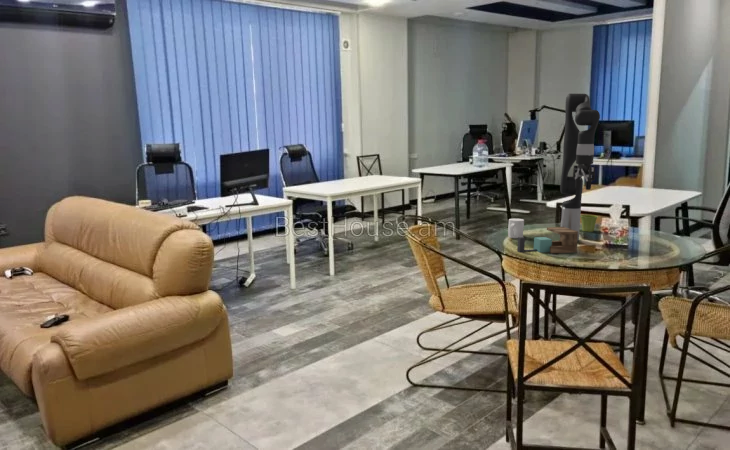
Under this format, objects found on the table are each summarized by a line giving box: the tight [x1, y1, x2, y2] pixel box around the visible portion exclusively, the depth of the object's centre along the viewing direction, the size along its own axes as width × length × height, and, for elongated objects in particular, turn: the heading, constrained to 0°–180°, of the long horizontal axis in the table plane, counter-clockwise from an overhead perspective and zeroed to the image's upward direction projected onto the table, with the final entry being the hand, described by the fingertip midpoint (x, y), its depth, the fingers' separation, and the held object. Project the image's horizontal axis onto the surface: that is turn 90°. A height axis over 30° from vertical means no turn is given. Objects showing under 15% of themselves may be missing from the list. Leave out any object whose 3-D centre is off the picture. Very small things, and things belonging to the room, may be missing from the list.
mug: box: [507, 218, 525, 239], centre depth 301 cm, size 12×9×8 cm
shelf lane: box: [546, 226, 578, 254], centre depth 269 cm, size 13×13×10 cm
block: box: [516, 236, 553, 253], centre depth 267 cm, size 6×15×7 cm, turn 101°
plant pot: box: [580, 214, 599, 233], centre depth 317 cm, size 9×9×9 cm
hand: (582, 188), depth 262 cm, fingers open, 8 cm apart
